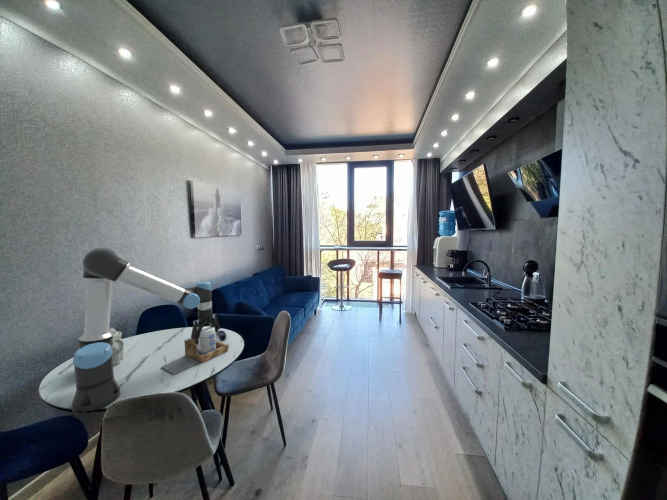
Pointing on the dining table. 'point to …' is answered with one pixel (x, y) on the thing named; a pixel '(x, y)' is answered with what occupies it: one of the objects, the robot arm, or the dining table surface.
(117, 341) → the beige lumpy upright piece
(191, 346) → the frame
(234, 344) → the dining table surface
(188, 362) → the mat
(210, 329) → the supplement tub
